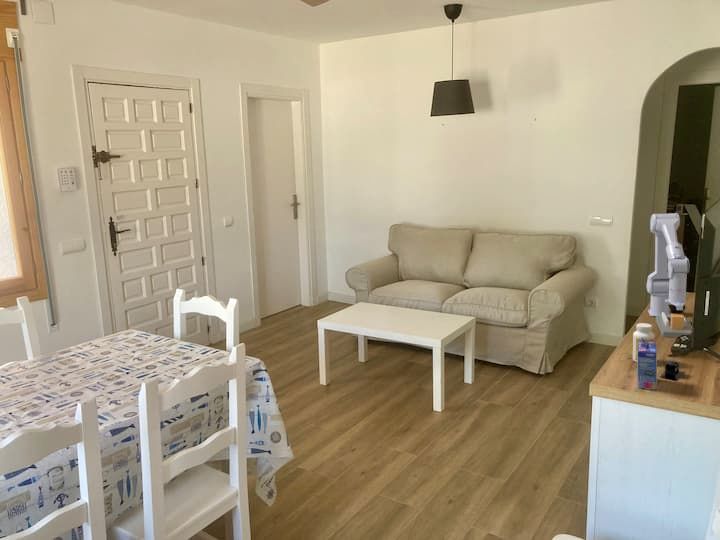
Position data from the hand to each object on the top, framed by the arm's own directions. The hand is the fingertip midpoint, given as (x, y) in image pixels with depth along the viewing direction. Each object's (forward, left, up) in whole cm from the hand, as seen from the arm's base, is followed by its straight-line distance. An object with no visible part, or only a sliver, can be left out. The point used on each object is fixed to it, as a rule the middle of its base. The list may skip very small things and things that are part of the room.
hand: (676, 323), depth 223 cm
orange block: (+2, 0, -1) cm, 3 cm away
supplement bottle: (+37, -15, -3) cm, 40 cm away
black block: (+48, -8, -4) cm, 49 cm away
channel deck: (-2, 0, -3) cm, 4 cm away
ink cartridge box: (+57, -16, -3) cm, 59 cm away
